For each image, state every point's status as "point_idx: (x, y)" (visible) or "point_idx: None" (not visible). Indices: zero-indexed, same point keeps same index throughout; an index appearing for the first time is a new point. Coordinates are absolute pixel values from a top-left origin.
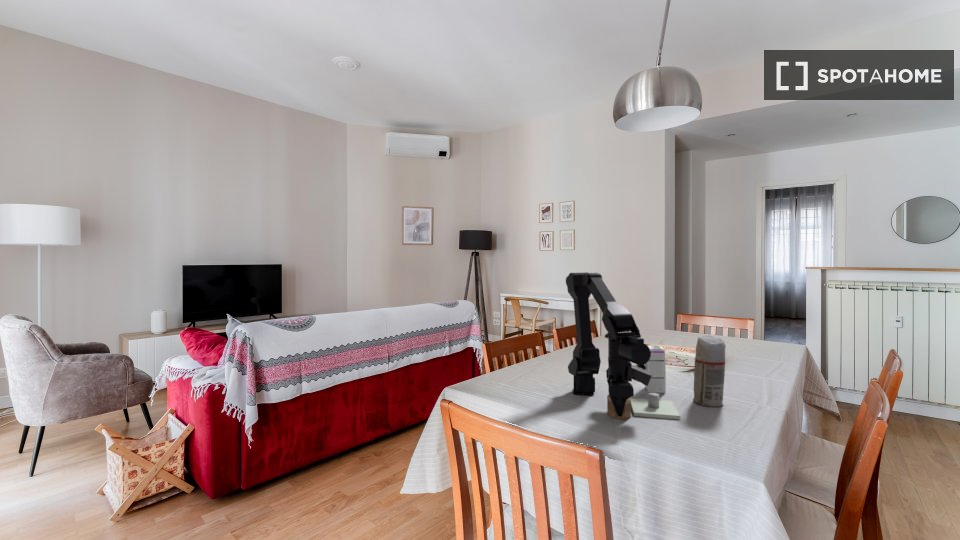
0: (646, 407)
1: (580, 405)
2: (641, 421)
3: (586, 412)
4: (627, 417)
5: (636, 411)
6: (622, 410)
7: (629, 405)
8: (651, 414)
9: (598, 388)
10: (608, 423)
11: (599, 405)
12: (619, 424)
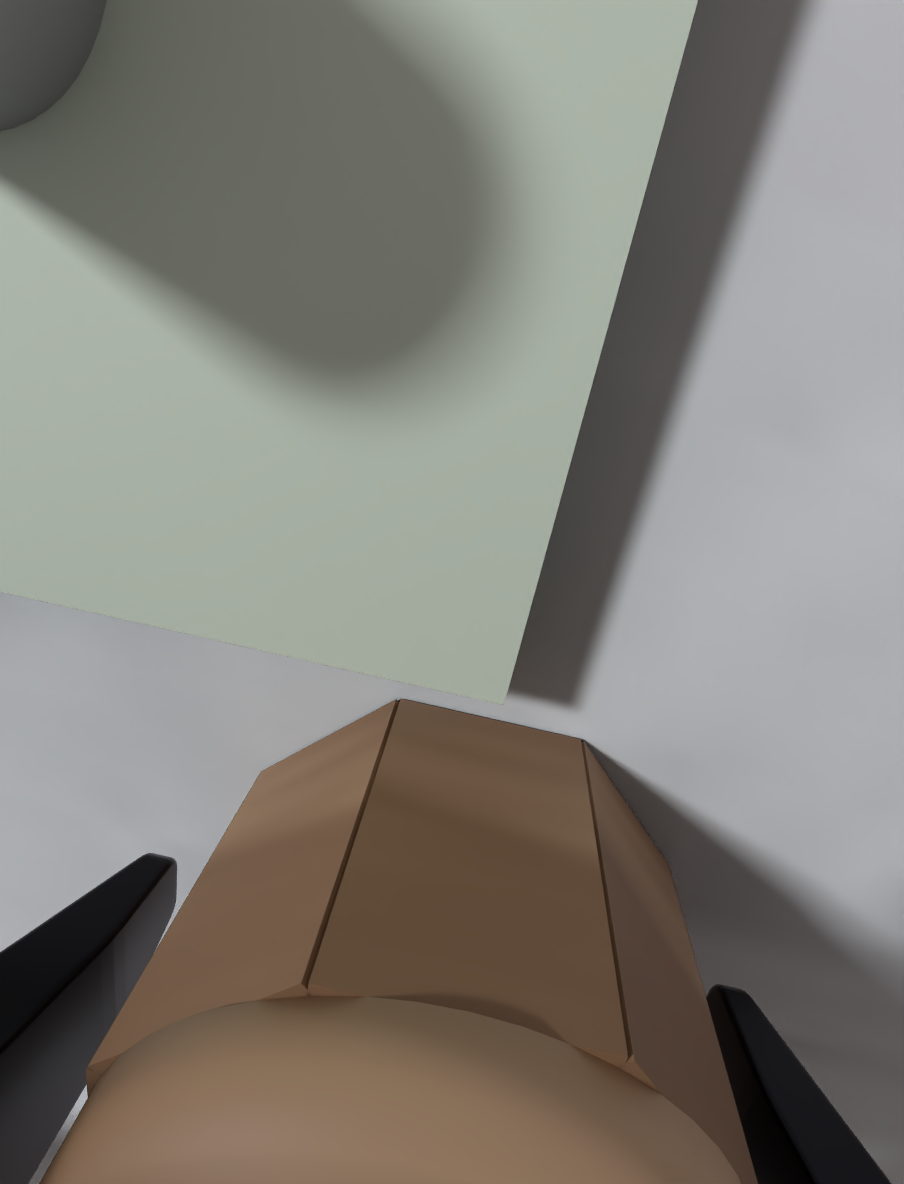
0: (95, 239)
1: None
2: (836, 615)
3: None
4: (635, 824)
5: (448, 632)
6: (861, 1166)
7: (655, 1029)
8: (618, 261)
9: None
10: None
11: None
12: (885, 995)
